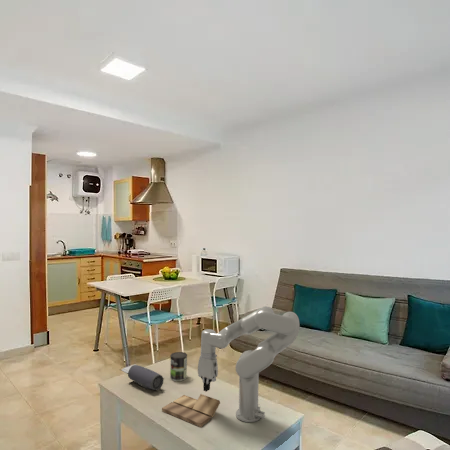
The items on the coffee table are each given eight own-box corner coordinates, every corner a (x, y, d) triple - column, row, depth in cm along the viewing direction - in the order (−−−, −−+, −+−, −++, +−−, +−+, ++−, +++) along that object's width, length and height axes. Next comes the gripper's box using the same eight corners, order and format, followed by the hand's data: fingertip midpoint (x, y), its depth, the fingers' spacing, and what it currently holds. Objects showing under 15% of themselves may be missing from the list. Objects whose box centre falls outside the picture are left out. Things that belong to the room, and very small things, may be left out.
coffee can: (177, 382, 210) (177, 359, 210) (166, 377, 217) (167, 354, 217) (190, 377, 217) (190, 354, 217) (179, 372, 224) (180, 350, 225)
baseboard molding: (147, 386, 205) (163, 380, 214) (147, 381, 205) (164, 375, 214) (119, 371, 226) (134, 366, 235) (119, 367, 226) (135, 362, 235)
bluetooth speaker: (164, 389, 202) (164, 371, 202) (151, 395, 194) (151, 376, 194) (139, 378, 216) (140, 361, 216) (127, 383, 209) (127, 366, 209)
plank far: (200, 404, 184) (200, 401, 184) (190, 411, 177) (190, 407, 177) (183, 397, 191) (183, 394, 191) (173, 404, 184) (173, 401, 184)
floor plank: (210, 419, 170) (211, 416, 170) (200, 427, 163) (200, 423, 163) (172, 404, 184) (172, 401, 184) (161, 411, 177) (161, 407, 177)
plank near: (220, 402, 176) (219, 400, 175) (212, 417, 171) (211, 415, 170) (201, 395, 183) (200, 393, 182) (193, 410, 177) (192, 408, 177)
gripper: (224, 356, 178) (222, 392, 178) (201, 349, 187) (199, 383, 187) (215, 360, 172) (213, 397, 172) (192, 353, 181) (190, 388, 181)
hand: (206, 390), depth 179 cm, fingers closed
